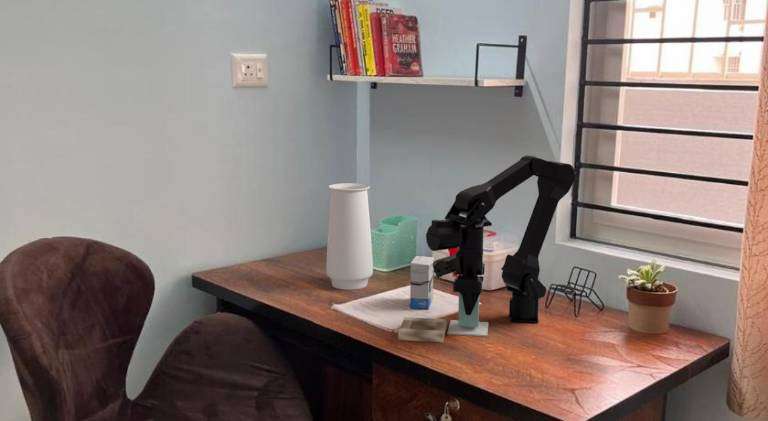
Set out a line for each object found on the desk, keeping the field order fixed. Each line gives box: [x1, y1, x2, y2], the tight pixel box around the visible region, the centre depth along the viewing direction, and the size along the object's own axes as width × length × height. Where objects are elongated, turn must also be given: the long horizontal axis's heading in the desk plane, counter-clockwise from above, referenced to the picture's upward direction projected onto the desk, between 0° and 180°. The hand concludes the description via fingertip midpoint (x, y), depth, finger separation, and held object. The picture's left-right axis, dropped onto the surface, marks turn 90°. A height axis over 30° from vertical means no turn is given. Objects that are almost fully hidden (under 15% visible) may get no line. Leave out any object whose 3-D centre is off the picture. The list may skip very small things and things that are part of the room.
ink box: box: [409, 255, 434, 310], centre depth 193 cm, size 8×5×12 cm, turn 168°
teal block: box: [457, 292, 480, 327], centre depth 174 cm, size 4×4×8 cm
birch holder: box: [397, 316, 448, 344], centre depth 172 cm, size 10×10×2 cm
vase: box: [325, 182, 374, 291], centre depth 209 cm, size 13×13×28 cm
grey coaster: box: [446, 319, 489, 338], centre depth 175 cm, size 9×9×1 cm
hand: (468, 311), depth 175 cm, fingers closed on teal block, 4 cm apart
